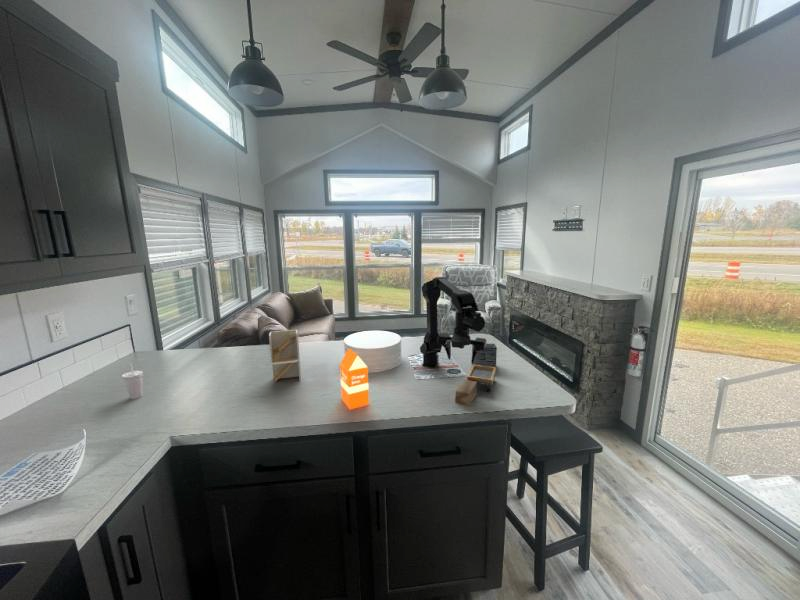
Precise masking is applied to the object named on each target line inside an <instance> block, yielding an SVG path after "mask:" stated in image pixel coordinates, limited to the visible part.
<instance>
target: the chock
mask: <svg viewBox="0 0 800 600" xmlns="http://www.w3.org/2000/svg"><path fill="white" fill-rule="evenodd" d="M477 384H478V383H477V382H476V381H470V380H467V379H466V378H465V379H463V381H462V382H461V383H460V384H459V386H458V387H457V388H456V389H455V396H454V397H455V401H454V403H455V404H456V405H457V404H458V405H462V406H467V407H469V406H470V404H471V403H472V401H473V400H474V397H475V396H476V395H475V394H477Z"/></svg>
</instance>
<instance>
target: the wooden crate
mask: <svg viewBox="0 0 800 600" xmlns="http://www.w3.org/2000/svg"><path fill="white" fill-rule="evenodd" d="M286 328H287V329H286V330H278V331H270V332H269V334H268V340H269V341H268V342H269V351H270V352H269V353H270V360H271V367H272V378H273V382H274V383H277V381H278V380H280V379H287V378H296V377H299V378H298V380H299V381H302V380H301V379H302V371H301V361H300V359H301V358H300V343H299V334H298V333H299V331H298V329H289V324H286Z"/></svg>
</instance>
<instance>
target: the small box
mask: <svg viewBox="0 0 800 600" xmlns="http://www.w3.org/2000/svg"><path fill="white" fill-rule="evenodd" d="M471 347H472V348H471V355H472V354H473V348H474V345H472V346H471ZM497 348H498V347H497V345H496V344H495V343H486V347H485V349H484V350H481V351H478V352H477V354H476V356H475V358H474V361H473V363H471V367H472V366H473V364H474V365H481V366H488V367H496V368H497V351H498V349H497Z"/></svg>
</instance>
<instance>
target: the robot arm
mask: <svg viewBox="0 0 800 600" xmlns="http://www.w3.org/2000/svg"><path fill="white" fill-rule="evenodd" d="M421 292H422V297H423V298H424V300H425V302H426V333H425V335H424V337H423V343H422V344H421V346H420V347H419V350H420V351H419V352H420V353H422V360H423V361H422V364H421V366H422V367H427V366H428V367H429V368H436V367H437V366H438V365H439V361H440V359H439V357H440V356H439V353H441V351H442V348H444V350H445V352H446V355H447V358H448V360H451V355H452V351H451V350H452V348H454V349H455V348H457V349H464V348H465V347H466V346H471V345H474V348H473V354H472V353H471V361H470V362H471V364H472V363H473V361H474V358H475V356H476V354H477V352H478V351H481V350H484V349H485V347H486V344H487V342H488V341H487V339H486V338H483V337H476V338H475V339H471V336H470V331H471V330H473V331H474V332H481V331H482V330H483V329H484V327H485V326H486V321H485V318H484V317H483V316H482V313H481V312H479V308H478V306H479V305H478V304H477V302H476V300H475V296H474V295H473V293H472V292H470V291H468V290H466V289H465V290H464V289H460V288H459V287H457V286H456V285H455V284H453V283H452V282H450V281H449V280H448V278H447V277H445V276H436V277H434V278H433V279H431V280H429V281H427V282H424V283H423V284H422V285H421ZM442 292H443V293H444V294H445V295H446V296H448V297H449V298H450V299H451V303H452V305H453V306H454V307H453V308H452V311H454V312H455V314H454V315H455V317H454V318H455V319H454V329H453V333H452V336H451V334H450V333H444V332H441V333H440V334H439V331H438V330H439V329H438V328H439V327H438V301H439V299H440V298H441V294H442ZM436 365H437V366H436Z"/></svg>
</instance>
